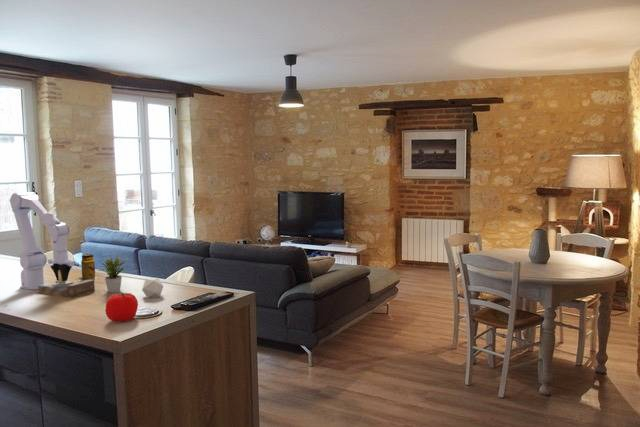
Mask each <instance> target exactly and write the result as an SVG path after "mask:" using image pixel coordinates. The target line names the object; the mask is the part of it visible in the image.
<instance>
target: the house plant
mask: <svg viewBox="0 0 640 427" xmlns="http://www.w3.org/2000/svg"><path fill="white" fill-rule="evenodd" d="M118 256H119V254H117V256H116V258H114V259H115V260H114V262H113V258H112V257H111V255H109V258H110V259H108V258H107V257H104V260H105V261H104V262H103V261H99V262H100V263H101V264H102V265H103V266H104V267H105V269H98V270H97V271H99V272H100V271H101V272H105V273H107V276H106V277H104V280H105V285H106V289H107V293H117V292H120V291H121V287H122V286H121V285H122V277H123V276H121V275H119V274H120V273H122V271H123V272H126V273H127V271H126V267H127V265H126V266H122V265H123V264H127V263H128V262H127V261H128V260H129V257H128V258H124V259H122V260H121V261H120V259H121V256H119V257H118ZM121 266H122V267H121Z"/></svg>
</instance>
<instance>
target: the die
mask: <svg viewBox="0 0 640 427" xmlns="http://www.w3.org/2000/svg"><path fill="white" fill-rule="evenodd" d="M163 288H164V284H163V283H162V281H161V280H160V278H158V277H153V278H145V280H144V283H143V286H142V289H141V290H142V291H141V292H143V294H144V295H145V296H146V298H147V299H152V298H159V297H160V296H161V294H162V291H163Z"/></svg>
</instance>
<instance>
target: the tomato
mask: <svg viewBox="0 0 640 427" xmlns="http://www.w3.org/2000/svg"><path fill="white" fill-rule="evenodd" d="M138 308H139V302H138V299H137V298H136V296H135V295H134V294H133V293H128V292H121V293H117V292H115V293H114V294H112V295H110V296H109V298H108V299H107V301H106V302H105V316H106V317H107V319H109V321H111V322H114V323H126V322H129V321H131V320H133V319H134V318H135V316H136V315H137V312H138Z"/></svg>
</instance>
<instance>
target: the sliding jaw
mask: <svg viewBox="0 0 640 427" xmlns="http://www.w3.org/2000/svg"><path fill="white" fill-rule="evenodd" d="M58 277H59V283H56V282H55V283H52V284H51V285H52V286H56V287H62V288H67V285H70V284H73V282H74V281H68V280H67V281H62V277H61V272H60V270H58Z"/></svg>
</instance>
